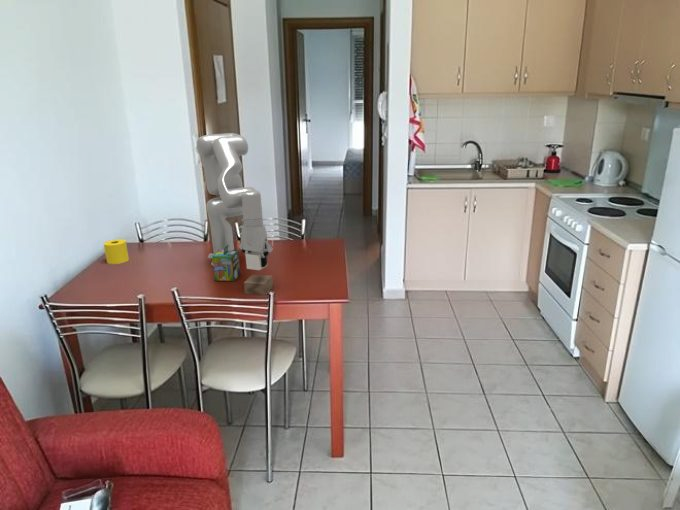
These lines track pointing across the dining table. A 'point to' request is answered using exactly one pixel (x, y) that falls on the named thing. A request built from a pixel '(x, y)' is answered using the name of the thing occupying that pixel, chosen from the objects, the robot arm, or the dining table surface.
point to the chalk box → (226, 265)
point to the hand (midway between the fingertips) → (257, 265)
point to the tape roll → (116, 251)
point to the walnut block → (258, 284)
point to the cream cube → (254, 260)
